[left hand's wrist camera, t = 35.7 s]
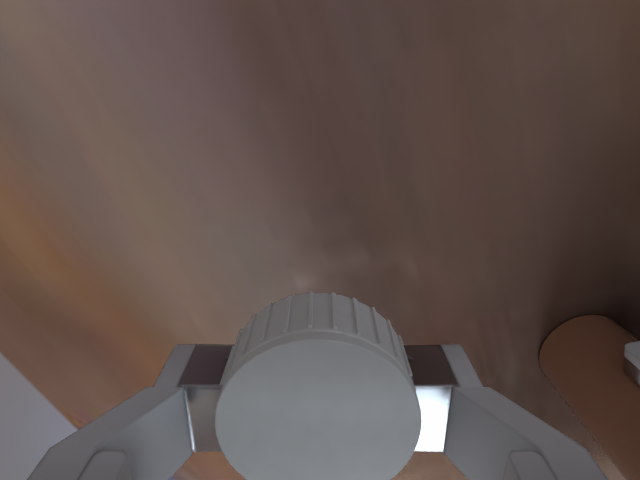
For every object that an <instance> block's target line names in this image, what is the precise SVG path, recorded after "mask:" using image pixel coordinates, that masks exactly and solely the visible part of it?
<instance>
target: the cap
mask: <svg viewBox="0 0 640 480" xmlns="http://www.w3.org/2000/svg"><path fill="white" fill-rule="evenodd" d="M411 376H413V375H412V371H411V368H410V365H409V362H408V358H407V355H406V352H405V348H404V345H403V342H402V339H401V336H400V335H397V334H396V333H395V331H394V329H393V328H392V326H391V323H390V321H389V320H385V319H384V318H383V317H382V316H381V315H380V314H379V313H378V312H376V310H375V308H374V307H372V308H370V307H369V306H367V305H365V304H363V303H361V302H359V301H357V299H356V298H354V297H353V299H351V298H349V297H345V296H342V295H337V294H335V293H333V292H332V294H329V293H313V292H309V293H308V294H299V295H295V296H292V295H289V296H288V298H285V299H283V300H280V301H278V302H276V303H274V304H272V303H270V304H268V307H267V308H265V309H264V310H262V311H261V312H259V313H258V314H257V315H255V314H254V315H253V316H252V318H251V321H250V322H249V323H248V324H247V325H246V327H245V328H244V329H241V330H240V331H239V334H238V337H237V340H236V343H235V345H233V346H232V349H231V352H230V355H229V358H228V361H227V364H226V367H225V370H224V373H223V376H222V379H221V382H220V385H221V386H222V385H223V386H222V388H221V392H220V394H219V397H218V400H217V405H216V409H215V430H216V435H217V439H218V442H219V445H220V447H221V449H222V452H223V454H224V455H225V457H226V458H227V460H228V461H229V463H230V464H231V465H232V466H233V467H234V469H235V470H236V471H237V472H238V473H239V474H240V475H242V476H243V477H244V478H245V479H246V480H391V479H392V478H393V477H394V476H395V475H396V474H397V473H399V472H400V471H401V470H402V468H403V467H404V466H405V465H406V464H407V462H408V461H409V459H410V458H411V456H412V455H413V453H414V451H415V449H416V446H417V444H418V441H419V437H420V433H421V424H422V418H421V409H420V405H419V401H418V397H417V394H416V391H415V387H414V384H413V381H412V378H411Z"/></svg>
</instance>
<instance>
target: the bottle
mask: <svg viewBox="0 0 640 480" xmlns="http://www.w3.org/2000/svg"><path fill="white" fill-rule="evenodd" d="M637 341H638V340H637V339H636V338H635V337H634V336H632V335H631V334H630V333H629V332H627V331H626V330H625V329H624V328H623V327H621V326H620V325H619V324H618V323H617V322H615V321H614V320H612V319H610V318H608V317H605V316H600V315H584V316H579V317H576V318H573V319H571V320H568V321H566V322H564V323H563V324H561V325H560V326H558V327H557V328H556V329H554V330H553V331H552V332H551V333H550V334H549V336H548V337H547V338H546V340H545V341H544V343H543V345H542V347H541V350H540V354H539V364H540V368H541V370H542V372H543V373H544V375H545V376H546V378H547V379H548V380H549V381H550V383H551V384H552V385H553V387H554V388H555V389H556V390H557V392H558V393H559V394H560V396H561V397H562V398H563V399H564V401H565V402H566V403H567V405H568V406H569V407H570V409H571V410H572V411H573V412H574V414H575V415H576V416H577V418H578V419H579V420H580V421H581V423H582V424H583V425H584V427H585V428H586V429H587V430H588V432H589V433H590V434H591V436H592V437H593V438H594V439H595V441H596V442H597V443H598V445H599V446H600V447H601V449H602V450H603V451H604V452H605V454H606V455H607V456H608V458H609V459H610V460H611V461H612V463H613V464H614V465H615V467H616V468H617V469H618V470H619V472H620V473H621V474H622V476H623V477H624V478H625V479H626V480H640V386H638V385H637V384H636V383H635V382H634V381H633V379H632V377H631V376H627V374H626V373H625V372H624V371H623V367H624V349H625V345H626V344H627V343H631V342H637Z"/></svg>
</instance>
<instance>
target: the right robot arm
mask: <svg viewBox="0 0 640 480" xmlns="http://www.w3.org/2000/svg"><path fill="white" fill-rule="evenodd" d="M623 371H624V372H625V373H626V374H627V376H631V377H632V379H633V381H634V382H635V383H636V384H637V385H638V386H640V341H637V342H631V343H627V344H626V345H625V349H624V367H623ZM625 480H626V479H625Z"/></svg>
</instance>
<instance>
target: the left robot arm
mask: <svg viewBox="0 0 640 480" xmlns="http://www.w3.org/2000/svg"><path fill="white" fill-rule="evenodd" d="M232 346H233V345H218V344H198V345H197V344H178V345H176V346H175V347H174V348H173V350H172V352H171V354H170V356H169V358H168V359H167V361H166V363H165V365H164V367H163V369H162V371H161V372H160V374H159V376H158V378H157V380H156V382H155V384H154V386H153V387H146V388H144V389H143V390H141V391H139V392H138V393H136V394H135V395H133V396H132V397H130V398H128V399H127V400H125V401H124V402H122V403H120V404H119V405H117V406H116V407H114V408H113V409H111V410H109V411H108V412H106V413H105V414H103V415H101V416H100V417H98V418H97V419H95V420H94V421H92V422H90V423H89V424H87V425H86V426H84V427H82V428H81V429H79V430H78V431H76V432H75V433H73V434H71V435H70V436H68V437H67V438H65V439H63V440H62V441H60V442H59V443H57V444H56V445H54V446H52V447H51V448H49V450H48V451H47V453H46V454H45V455H44V457H43V458H42V459H41V461H40V462H39V464H38V465H37V466H36V468H35V469H34V471H33V472H32V473H31V475H30V476H29V477H28V479H27V480H168V479H169V478H170V477H171V476H172V475H173V474H174V473H175V472H176V471H177V470H178V469H179V468H180V467H181V466H182V465H183V464H184V463H185V462H186V460H187V459H188V458H189V457H190V456H191V455H192V454H193V453H192V452H202V451H222V449H221V447H220V445H219V442H218V439H217V435H216V430H215V409H216V405H217V400H218V397H219V394H220V392H221V388H222V386H223V385H222V386H221V385H220V382H221V379H222V376H223V373H224V370H225V367H226V364H227V361H228V358H229V355H230V352H231V349H232ZM404 348H405V352H406V355H407V358H408V362H409V365H410V368H411V371H412V375H413V376H411V378H412V381H413V384H414V387H415V391H416V394H417V397H418V401H419V405H420V409H421V418H422V424H421V433H420V437H419V441H418V444H417V446H416V449H415V451H434V452H444V454H445V455H446V456H447V458H448V459H449V460H450V461H451V462H452V463H453V464H454V465H455V466H456V467H457V468H458V469H459V470H460V471H461V472H462V474H463V475H464V476H465V477H466V478H467V479H468V480H608V479H607V477H606V476H605V474H604V473H603V471H602V470H601V469H600V467H599V466H598V464H597V463H596V462H595V460H594V459H593V457H592V456H591V455H590V453H589V452H588V450H587V449H586V448H584V447H583V446H581V445H580V444H578V443H576V442H575V441H573V440H572V439H570V438H569V437H567V436H566V435H564V434H562V433H561V432H559V431H558V430H556V429H555V428H553V427H551V426H550V425H548V424H547V423H545V422H544V421H542V420H541V419H539V418H537V417H536V416H534V415H533V414H531V413H530V412H528V411H526V410H525V409H523V408H522V407H520V406H519V405H517V404H515V403H514V402H512V401H511V400H509V399H508V398H506V397H505V396H503V395H501V394H500V393H498V392H497V391H495V390H494V389H492V388H490V387H483V385H482V383H481V381H480V379H479V377H478V376H477V374H476V372H475V370H474V368H473V366H472V364H471V362H470V361H469V359H468V357H467V355H466V353H465V351H464V349H463V347H462V346H461V345H460V344H439V345H404Z"/></svg>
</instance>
